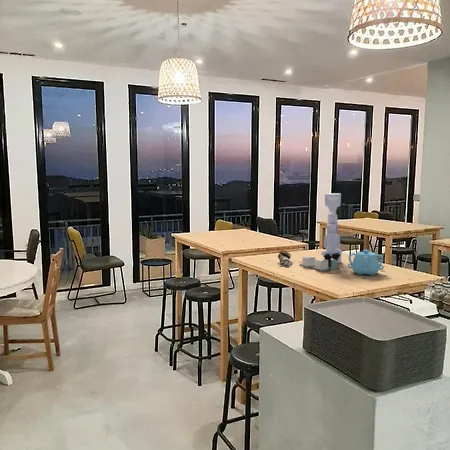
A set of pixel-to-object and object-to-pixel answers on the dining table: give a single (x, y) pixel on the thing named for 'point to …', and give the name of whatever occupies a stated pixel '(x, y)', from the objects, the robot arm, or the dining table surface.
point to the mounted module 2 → (321, 264)
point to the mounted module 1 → (308, 260)
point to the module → (333, 264)
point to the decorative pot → (365, 263)
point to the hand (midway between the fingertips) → (331, 266)
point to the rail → (315, 268)
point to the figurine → (285, 257)
